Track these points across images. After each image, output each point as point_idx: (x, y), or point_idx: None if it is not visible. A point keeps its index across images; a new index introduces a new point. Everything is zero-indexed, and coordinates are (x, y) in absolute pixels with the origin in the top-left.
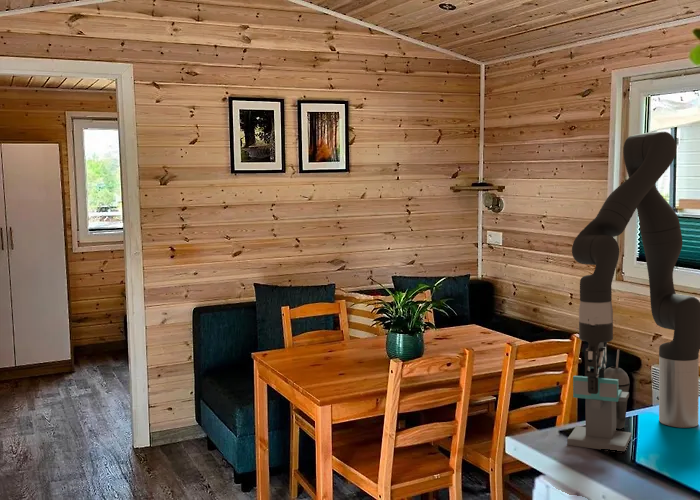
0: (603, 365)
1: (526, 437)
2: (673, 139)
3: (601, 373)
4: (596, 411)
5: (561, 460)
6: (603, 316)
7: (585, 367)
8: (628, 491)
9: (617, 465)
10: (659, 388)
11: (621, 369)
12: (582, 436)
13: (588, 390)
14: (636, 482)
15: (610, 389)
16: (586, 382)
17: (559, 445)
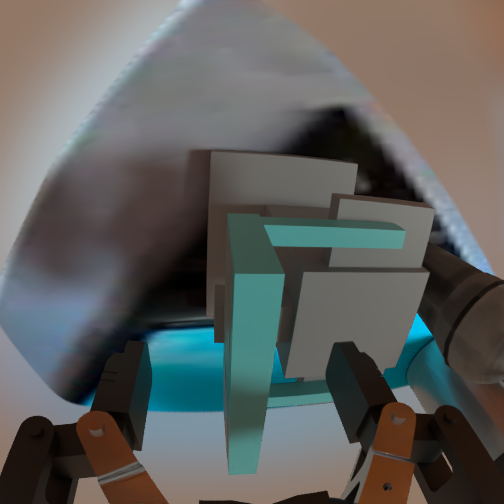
0: (352, 472)
1: (240, 17)
2: None
3: (348, 418)
4: None
5: (75, 165)
6: None
7: (4, 469)
8: (7, 324)
9: (110, 299)
10: None
11: (501, 380)
12: (253, 195)
13: (125, 349)
14: (47, 336)
15: (225, 418)
16: (229, 344)
17: (197, 127)
